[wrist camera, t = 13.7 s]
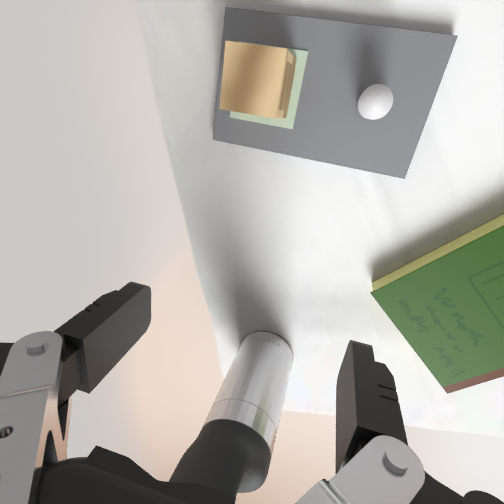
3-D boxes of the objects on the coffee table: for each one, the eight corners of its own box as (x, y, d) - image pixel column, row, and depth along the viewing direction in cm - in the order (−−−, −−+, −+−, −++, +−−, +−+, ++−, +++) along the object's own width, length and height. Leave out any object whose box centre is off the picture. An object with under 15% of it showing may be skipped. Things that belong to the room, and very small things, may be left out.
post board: (402, 176, 38) (414, 189, 31) (217, 138, 42) (192, 143, 35) (453, 38, 32) (481, 18, 25) (230, 11, 36) (203, -13, 29)
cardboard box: (296, 59, 35) (286, 48, 29) (286, 118, 37) (275, 118, 31) (245, 52, 36) (225, 40, 30) (238, 109, 38) (219, 108, 32)
